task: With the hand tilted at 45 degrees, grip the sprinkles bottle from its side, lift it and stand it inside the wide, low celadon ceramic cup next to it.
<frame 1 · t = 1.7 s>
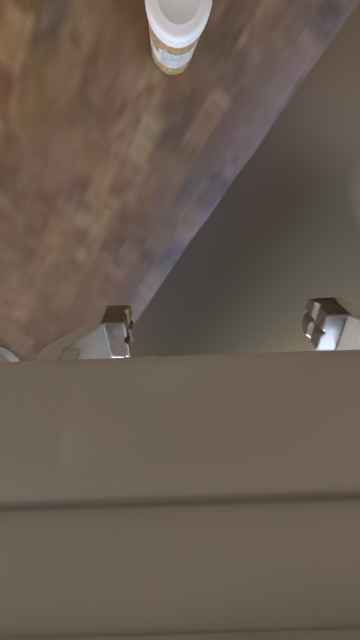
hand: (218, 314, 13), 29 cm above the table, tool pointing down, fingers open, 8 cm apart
sprinkles bottle: (172, 48, 29), on the table
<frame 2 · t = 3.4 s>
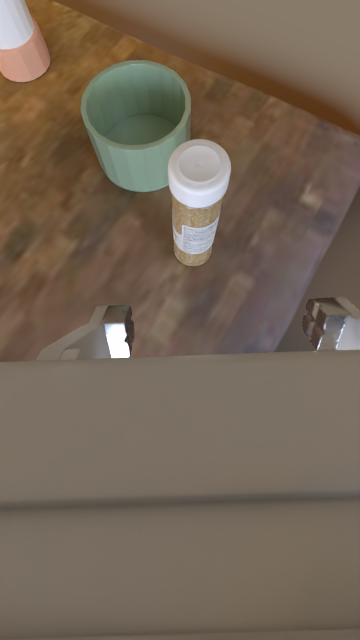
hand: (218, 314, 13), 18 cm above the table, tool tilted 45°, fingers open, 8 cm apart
sprinkles bottle: (192, 250, 33), on the table
cup: (144, 152, 35), on the table
salt shaker: (25, 63, 39), on the table
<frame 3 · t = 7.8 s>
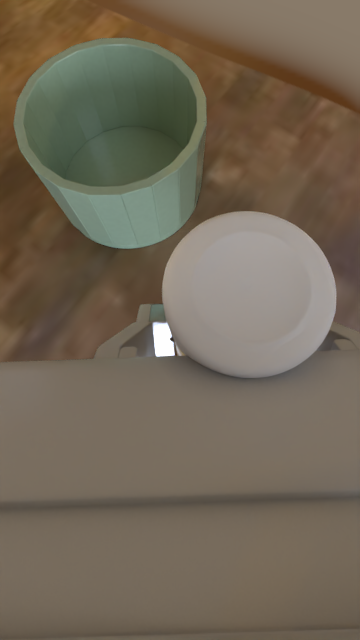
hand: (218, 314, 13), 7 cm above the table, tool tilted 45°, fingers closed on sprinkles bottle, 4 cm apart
sprinkles bottle: (206, 347, 20), on the table, touching gripper
cup: (130, 184, 23), on the table
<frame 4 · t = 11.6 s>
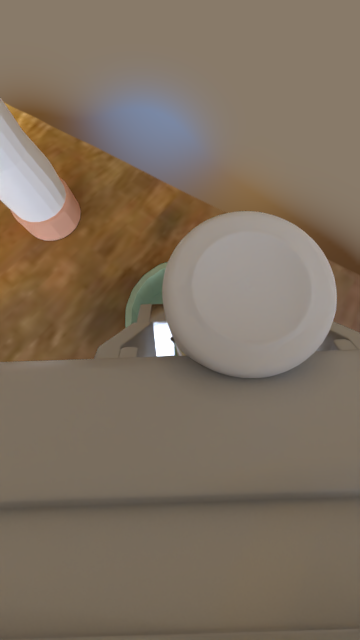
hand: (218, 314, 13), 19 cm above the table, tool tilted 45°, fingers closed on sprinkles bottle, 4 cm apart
sprinkles bottle: (207, 347, 20), point 12 cm above the table, touching gripper
cup: (186, 328, 32), on the table
salt shaker: (53, 216, 36), on the table
when the fingers open (8 cm above the table, at t = 15.7 s): sprinkles bottle stays where it is, resting on cup.
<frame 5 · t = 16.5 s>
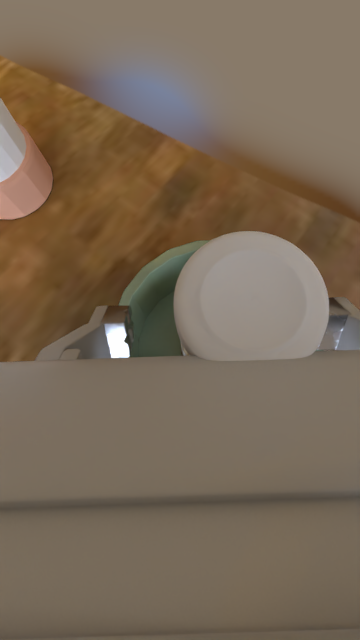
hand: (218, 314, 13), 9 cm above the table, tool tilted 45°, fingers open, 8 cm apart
sprinkles bottle: (210, 349, 21), resting on cup
cup: (206, 349, 21), on the table
salt shaker: (14, 185, 25), on the table
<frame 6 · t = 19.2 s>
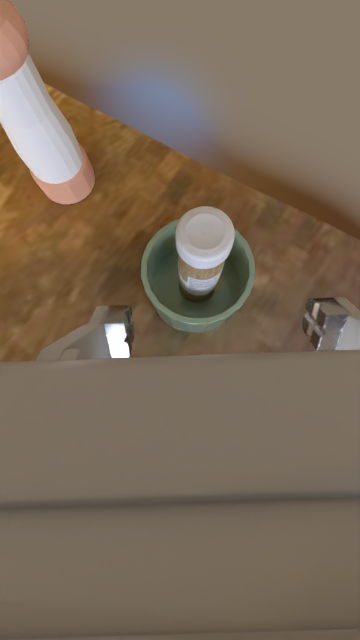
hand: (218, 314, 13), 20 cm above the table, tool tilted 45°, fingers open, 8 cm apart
sprinkles bottle: (197, 286, 34), resting on cup
cup: (195, 287, 34), on the table
salt shaker: (69, 181, 38), on the table
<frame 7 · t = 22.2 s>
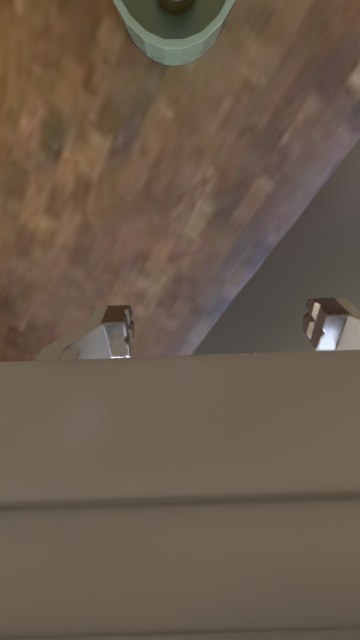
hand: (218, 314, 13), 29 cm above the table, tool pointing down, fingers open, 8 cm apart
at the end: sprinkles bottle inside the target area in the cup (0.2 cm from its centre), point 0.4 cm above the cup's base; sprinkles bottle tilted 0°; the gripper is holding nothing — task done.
